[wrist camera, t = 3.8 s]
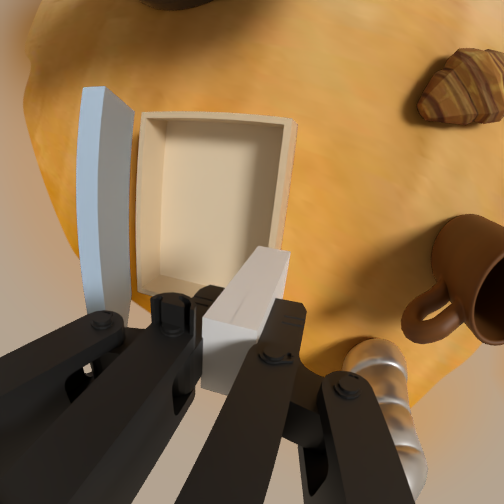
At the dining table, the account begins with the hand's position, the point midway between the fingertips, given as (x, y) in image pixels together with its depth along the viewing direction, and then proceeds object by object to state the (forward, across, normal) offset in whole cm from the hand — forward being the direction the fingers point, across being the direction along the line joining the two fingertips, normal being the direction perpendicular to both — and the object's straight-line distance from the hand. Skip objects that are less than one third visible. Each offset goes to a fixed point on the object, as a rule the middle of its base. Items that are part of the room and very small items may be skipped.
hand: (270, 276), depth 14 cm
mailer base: (+12, -7, 0) cm, 14 cm away
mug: (+12, +14, -1) cm, 19 cm away
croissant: (+13, +14, +15) cm, 24 cm away
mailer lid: (+2, -10, 0) cm, 10 cm away
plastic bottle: (+12, +10, -12) cm, 20 cm away
